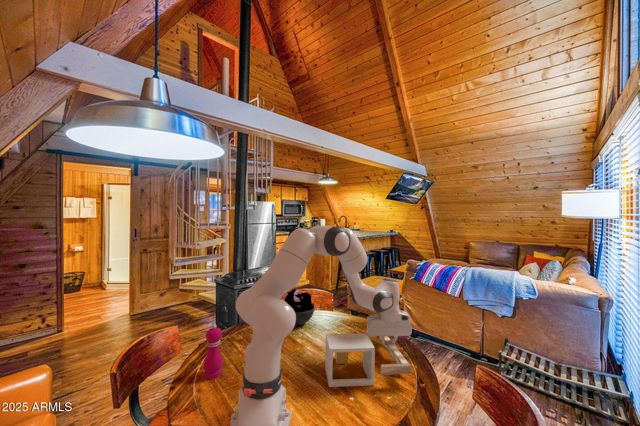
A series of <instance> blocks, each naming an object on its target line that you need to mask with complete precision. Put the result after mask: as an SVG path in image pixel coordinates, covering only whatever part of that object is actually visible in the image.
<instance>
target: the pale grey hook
mask: <svg viewBox="0 0 640 426" xmlns="http://www.w3.org/2000/svg"><path fill="white" fill-rule="evenodd" d="M375 338H379V339H380V341H381V342H382V343H383V340H382V339H381V337H380V336H375ZM383 339H384V340H386V341H387V345H385V346H384V347H385V348H386V350H387V351H388V353H389V354H390V355H391V357H392V358H393V360H394V361H395V363H388V364H387V363H386V364H380V373H381V375H382V376H389V375H405V374H406V375H407V374H411V364H410V363H409V361H408V360H407V359H406V358H405V356H404V354H402V353H401V351H400V350H399V348H398V347H397V346H396V344H395V345H394V344H393V342H392V341H391V340H392V339H391V338H390V336H385V338H383Z"/></svg>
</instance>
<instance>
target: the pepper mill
mask: <svg viewBox="0 0 640 426" xmlns="http://www.w3.org/2000/svg"><path fill="white" fill-rule="evenodd" d="M222 331H223V330H222V329H221V328H219V327H217V324H212V325H211V328H209V329H208V330H207V331H206V333H205V339H206V346H207V353H206V356H205V358H204V360H203V369H204V378H205V379H206V380H214V379H217V378H219V377H220V376H221V375H222V366H223V363H224V361H223V356H222V354H221V352H220V345H221V338H222V335H223V333H222Z"/></svg>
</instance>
